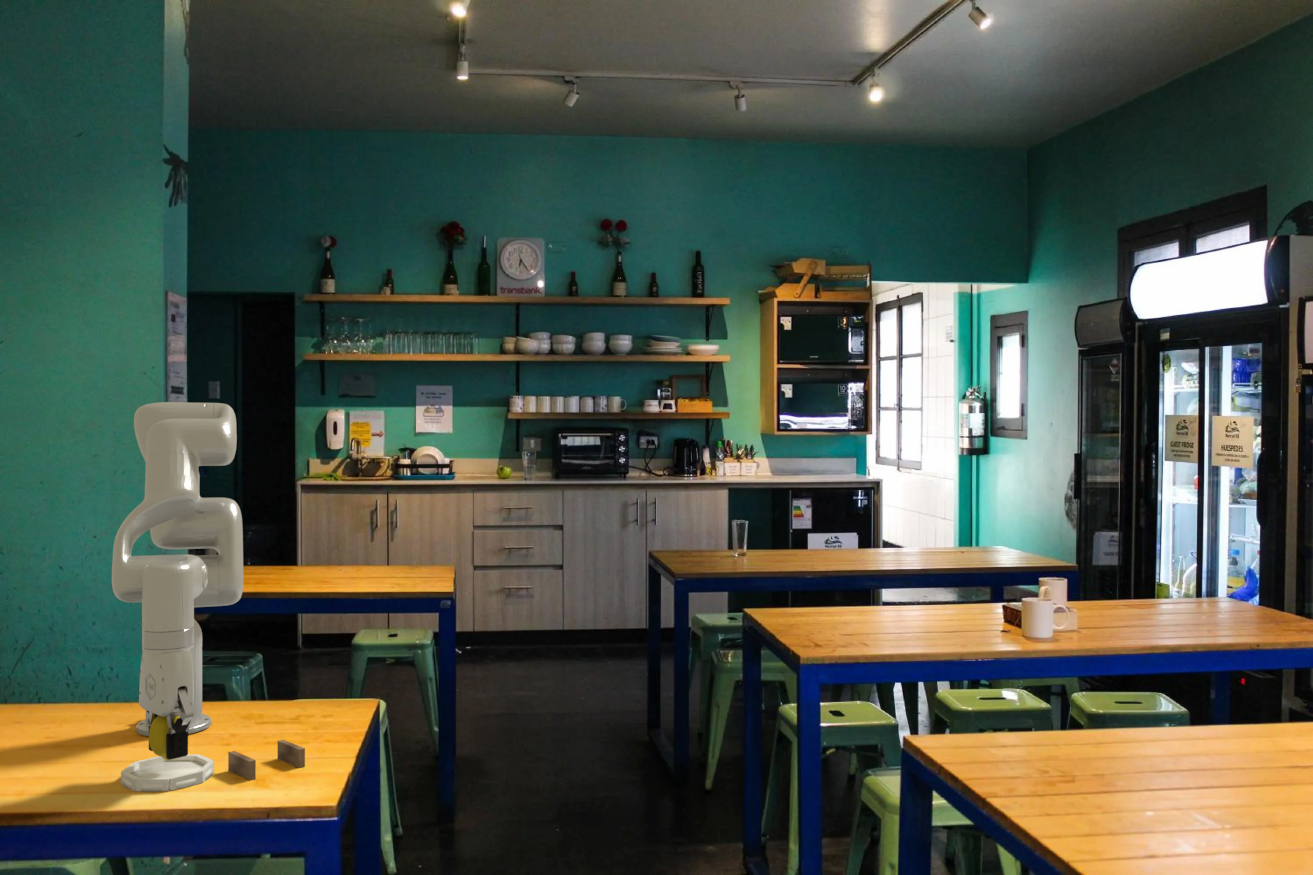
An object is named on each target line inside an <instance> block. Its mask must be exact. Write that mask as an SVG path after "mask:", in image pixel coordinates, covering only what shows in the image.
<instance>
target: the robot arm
mask: <svg viewBox="0 0 1313 875" xmlns="http://www.w3.org/2000/svg"><path fill="white" fill-rule="evenodd" d="M133 417H134V418H133V427H134V434H135V438H136V441H137V445H138V448H139V450H140V453H141V455H142V458H143V460H144V462H145V472H144V473H145V474H144V477H145V480H144V482H145V483H144V498H143V501H141V503H139V504H138V505H137V506H136V507H135V508H134V509H133V510H132V511H131V512H130V513H129V514H128V515H127V516H126V517H125V519H124V520H123V521H122V523H121V524H120V526H119V528H118V530H117V533H116V535H115V537H114V540H113V548H112V563H111V564H112V565H111V566H112V567H111V587H112V591H113V594H114V596H115V597H116V598H117V599H118V600H119V601H122V602H124V603H141V617H142V618H141V621H142V622H141V629H142V630H141V636H142V637H141V651H142V655H141V660H140V672H139V686H138V687H139V689H138V705H139V706H140V707H141V708H142V709H143V710H145V719H143V720H141V721H139V722H138V723H137V724H136V728H135V729H136V732H137V734H139V735H142V736H145V737H149V731H150V727H151V724H152V722H153V720H154V719H155V718H156V717H157V716H158V715H159V716H162V717H165V716H167V723H168V730H169V733H168V734H166V758H167V759H169V760H170V759H175V758H179V757H184V756H187V755H188V754H189V735H191V734H194V733H195V734H196V733H198V732H202V731H203V730H206V729H208V728H209V727H210V726H211V725H212V718H211V716H209V715H207V714H205V713H203V632H202V628H201V626H200V624H199V623H198V622H197V620H196V619H195V608H205V607H206V608H207V607H210V608H211V607H223V606H231V605H234V604H236V603H237V602H239V601H240V600H241V598H242V595H243V591H244V540H243V539H244V534H243V533H244V531H243V530H244V529H243V517H242V511H241V508H240V506H239V504H238V503H237V502H236V500H234V499H232V498H229V497H202V496H201V495H200V483H201V482H200V479H201V478H200V477H201V476H200V475H201V474H200V471H199V470H200V469H199V467H202V466H203V467H204V466H205V467H207V466H209V467H213V466H214V467H216V466H218V467H219V466H220V467H222V466H227V465H228V466H229V465H230V464H231V463H232V462H233V460H234V459H235V455H236V451H237V444H238V443H237V439H238V436H237V435H238V434H237V417H236V413H235V411H234V409H233V408H232V407H231V406H230V405H229V404H227V403H220V402H189V401H188V402H185V401H183V402H182V401H181V402H180V401H177V402H175V401H164V402H161V401H159V402H152V403H147V404H143V405H142V406H140V407H138V408H137V410H136V411H135V413H134V416H133ZM148 531H149V532H150V539H151V541H152V543H153V544H154V545H155V546H156V547H157V548H160V549H164V550H195V549H213V550H214V551H216V552H217V553H218V554H209V555H208V554H206V555H205V554H204V555H203V554H201V555H195V554H186V553H185V554H157V555H156V554H154V555H152V554H151V555H132V551H133V546H134V544H135V543H136V541H137V540H138V539H139V538H140V537H141V536H142V535H143V534H144V533H146V532H148ZM172 712H174V713H172ZM177 716H180V718H178V719H177V720H176V722H175V724H174V718H173V717H177ZM148 750H149V751H151V752H153V751H152V749H151V747H150V745H149V744H148Z"/></svg>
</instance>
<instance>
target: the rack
mask: <svg viewBox="0 0 1313 875" xmlns="http://www.w3.org/2000/svg"><path fill="white" fill-rule="evenodd" d="M227 754H228V756H227V757H228V758H227V759H228V772H230V773H232V774H235V775H237V776H239V777H241V778H243V779H246V780H247V781H253V780H256V778H257V777H256V775H257V774H256V770H257V769H256V768H257V767H256V765H257V764H256V763H257V762H256V759H254V758H252V757H249V756H247V755H244V754H242V753H240V752H237V751H236V750H232V751H228V753H227ZM277 760H279V761H282V762H284V763H287V764H289V765H292V766H293V767H297V768H304V766H305V767H306V748H305V747H302V746H300V745H298V744H294V743H292V742H290V741H287V740H285V739H281V740H277Z"/></svg>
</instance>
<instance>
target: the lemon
mask: <svg viewBox="0 0 1313 875" xmlns="http://www.w3.org/2000/svg"><path fill="white" fill-rule="evenodd" d="M172 713H174V712H172ZM173 718H174V724H175V722H176V720H177V719H178V718H180V716H177V717H173ZM168 733H169V730H168V723H167V716H165V717H162V716H159V715H158V716H157V717H156V718H155V719H154V720H153V722H152V724H151V727H150V731H149V736H148V746H149V745H150V747H151V749H152V751H151V752H153V753H154V754H155V756H157V757H158V756H161V757H163V758H164V759H165V760H169V759H167V758H166V734H168Z"/></svg>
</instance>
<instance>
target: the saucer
mask: <svg viewBox="0 0 1313 875" xmlns="http://www.w3.org/2000/svg"><path fill="white" fill-rule="evenodd" d="M214 768H215V760H213V759H211V758H209V757H206V756H205V755H202V754H198V753H197V754H196V753H195V754H194V753H193V754H189V753H188V755H187V756H184V757H179V758H175V759H170V760H165V759H164V758H163V757H161V756H158V755H157V756H153V757H149V758H146V759H141V760H136V761H133V762H132V763H131V764H129V765H128V766H127V767H125V768H124V769H122V770H121V772H120V784H121V785H123V788H126V789H128V790H130V791H133V792H144V793H145V792H150V793H151V792H169V791H174V790H179V789H181V790H182V789H185V788H190V787H193V786H196V785H200V784H202V783H205V782H206V781H207V780H209V779H210V778H211V777H212V776H213V774H214V773H215V769H214Z"/></svg>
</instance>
